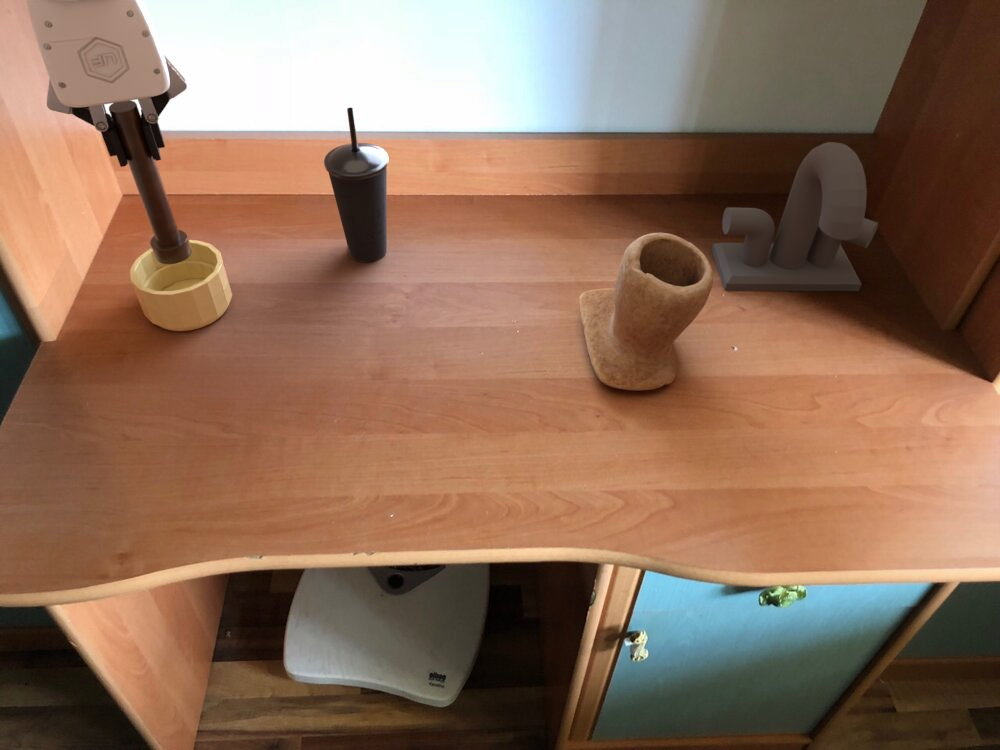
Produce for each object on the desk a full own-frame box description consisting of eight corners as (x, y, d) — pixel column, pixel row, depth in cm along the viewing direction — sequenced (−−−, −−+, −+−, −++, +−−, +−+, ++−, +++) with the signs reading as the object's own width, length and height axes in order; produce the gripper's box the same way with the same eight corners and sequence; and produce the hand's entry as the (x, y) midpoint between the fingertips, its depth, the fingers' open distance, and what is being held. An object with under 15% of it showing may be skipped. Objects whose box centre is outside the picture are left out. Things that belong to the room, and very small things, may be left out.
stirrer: (157, 267, 89) (102, 119, 76) (153, 247, 92) (100, 100, 79) (193, 260, 90) (145, 112, 77) (189, 240, 93) (142, 94, 80)
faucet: (732, 330, 95) (777, 184, 81) (706, 250, 106) (742, 110, 92) (882, 330, 95) (953, 186, 81) (841, 251, 106) (897, 111, 92)
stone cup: (698, 397, 87) (729, 291, 76) (591, 398, 87) (607, 292, 76) (672, 306, 98) (696, 202, 87) (576, 307, 97) (588, 203, 87)
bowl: (149, 342, 92) (133, 302, 87) (142, 289, 98) (127, 250, 94) (239, 321, 94) (227, 282, 90) (226, 271, 101) (215, 232, 97)
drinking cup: (329, 264, 102) (305, 120, 88) (351, 230, 108) (331, 89, 93) (385, 273, 101) (370, 129, 87) (404, 239, 106) (393, 97, 92)
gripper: (-32, -5, 64) (56, 191, 78) (176, -29, 69) (225, 160, 82) (-26, -36, 69) (55, 153, 82) (167, -57, 73) (215, 126, 87)
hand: (139, 155), depth 82 cm, fingers closed on stirrer, 2 cm apart
